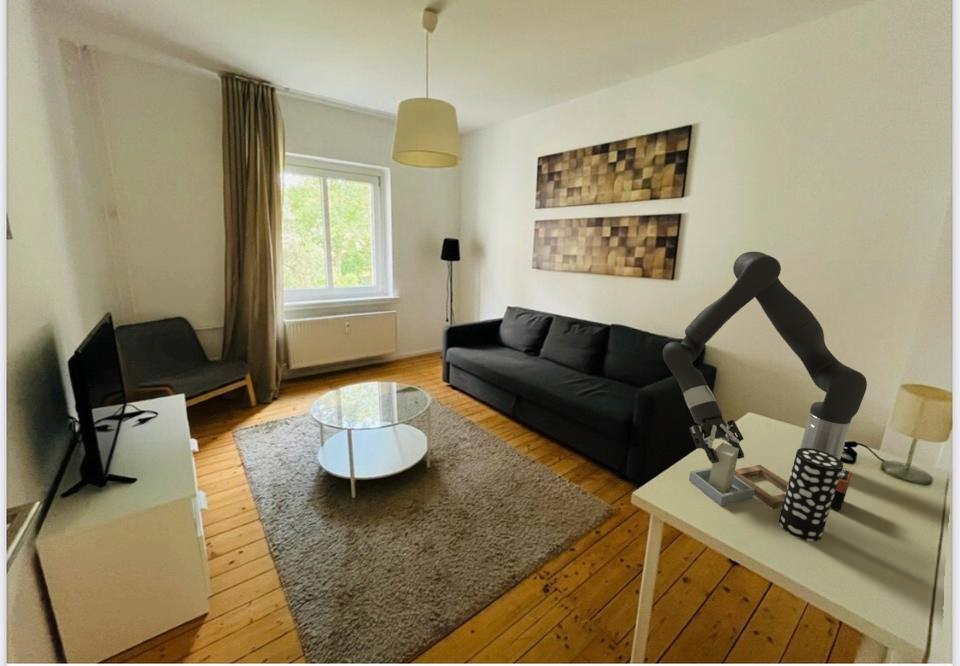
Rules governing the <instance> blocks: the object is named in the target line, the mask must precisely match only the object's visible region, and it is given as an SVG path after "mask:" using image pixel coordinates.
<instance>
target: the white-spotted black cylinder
mask: <svg viewBox="0 0 960 666" xmlns="http://www.w3.org/2000/svg"><path fill="white" fill-rule="evenodd" d="M842 468H844V463H843V461H841V459H840V460H839V459H838V458H836V457H835V456H833V455H831V454H829V453H826V452H823V451H820V450H817V449H812V448H800V447H799V448H798V449H797V450H796V453H795V457H794V461H793V465H792V469H791V472H790V476H789V478H788V481H787V482H788V486H787V490H786V492H785V493H784V494H785V498H784V501H783V505H782V507H781V509H780V510H781V511H780V512H779V517H778V523H779V526H780V527H782V529H783V530H784V531H785V532H787V533H788V534H790V535H791V536H793V537H795V538H798V539H801V540H804V541H807V542H819V541H820V540H822V537H823V534H824V529H825V527H826V524H827V520H828V517H829V514H830V511H831V509H832V508H831V504H832V501H833V498H834V495H835V491H836V488H837V485H838V482H839V478H840V475H841V472H842Z"/></svg>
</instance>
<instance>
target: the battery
mask: <svg viewBox="0 0 960 666" xmlns="http://www.w3.org/2000/svg"><path fill="white" fill-rule="evenodd" d="M852 475H853V473H852V472H851V471H849V470H846V468H845V467H843V468H842V472H841V475H840V478H839V482H838V485H837V488H836V491H835V495H834V498H833V501H832V504H831V508H830V509H832V510H834V511H837V512H840V511H841V510H842V507H843V504H844V501H845V498H846V494H847V491H848V488H849V485H850V481H851V478H852Z"/></svg>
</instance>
